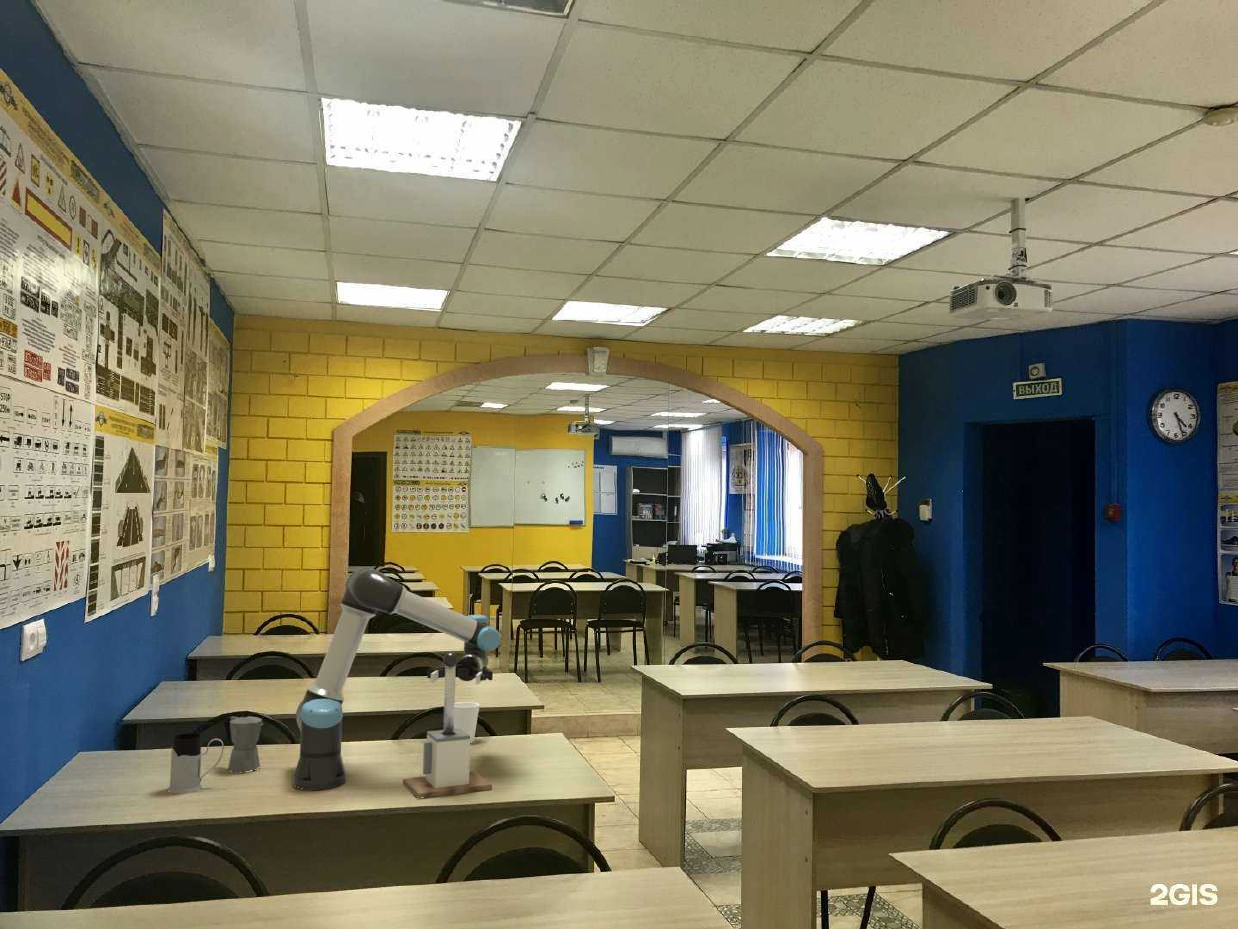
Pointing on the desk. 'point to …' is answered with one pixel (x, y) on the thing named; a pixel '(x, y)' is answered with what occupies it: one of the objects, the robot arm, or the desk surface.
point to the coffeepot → (243, 742)
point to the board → (425, 789)
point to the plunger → (449, 692)
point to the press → (447, 758)
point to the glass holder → (187, 763)
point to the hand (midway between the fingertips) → (454, 679)
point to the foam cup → (466, 717)
